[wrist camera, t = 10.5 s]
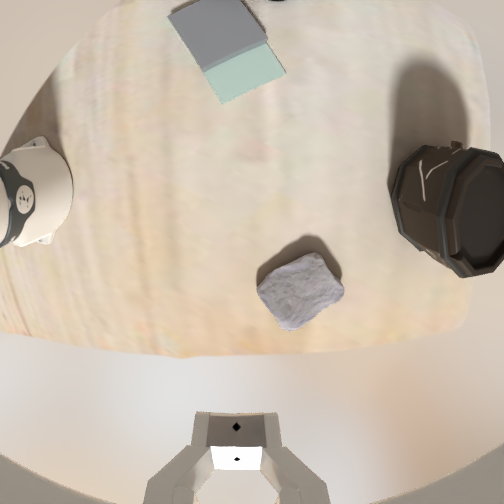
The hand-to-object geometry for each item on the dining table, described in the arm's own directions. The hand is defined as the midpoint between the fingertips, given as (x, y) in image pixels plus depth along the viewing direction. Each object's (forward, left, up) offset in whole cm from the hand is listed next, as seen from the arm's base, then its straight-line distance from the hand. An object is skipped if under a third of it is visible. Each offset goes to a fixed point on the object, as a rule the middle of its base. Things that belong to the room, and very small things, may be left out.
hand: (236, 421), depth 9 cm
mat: (-3, +27, -33) cm, 43 cm away
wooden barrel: (+31, +6, -33) cm, 46 cm away
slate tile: (-1, +24, -32) cm, 40 cm away
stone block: (+9, -10, -34) cm, 36 cm away
